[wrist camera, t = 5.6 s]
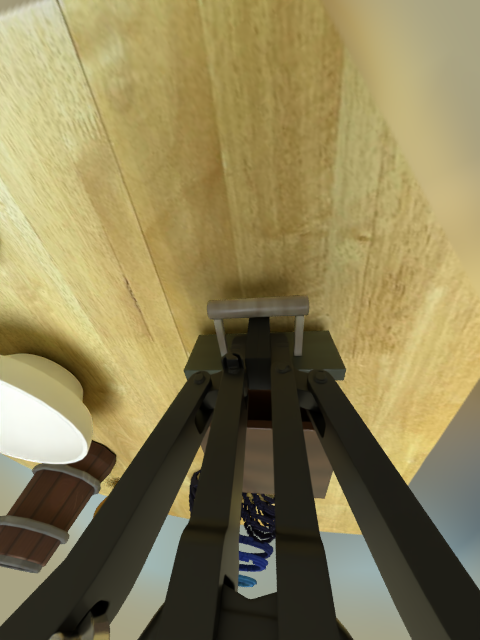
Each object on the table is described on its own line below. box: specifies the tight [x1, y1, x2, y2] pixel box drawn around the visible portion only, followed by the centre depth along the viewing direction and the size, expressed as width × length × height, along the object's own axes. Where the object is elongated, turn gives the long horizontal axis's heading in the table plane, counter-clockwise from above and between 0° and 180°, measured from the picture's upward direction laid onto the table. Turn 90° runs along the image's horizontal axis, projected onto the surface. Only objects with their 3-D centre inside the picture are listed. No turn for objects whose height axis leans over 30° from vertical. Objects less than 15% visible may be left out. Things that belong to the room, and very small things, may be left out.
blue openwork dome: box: [189, 470, 276, 587], centre depth 37 cm, size 20×20×14 cm
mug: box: [0, 441, 116, 573], centre depth 36 cm, size 16×12×15 cm
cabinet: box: [201, 420, 333, 499], centre depth 25 cm, size 16×14×7 cm
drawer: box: [184, 295, 346, 422], centre depth 20 cm, size 20×12×5 cm, turn 7°
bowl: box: [0, 353, 93, 464], centre depth 25 cm, size 20×20×7 cm
